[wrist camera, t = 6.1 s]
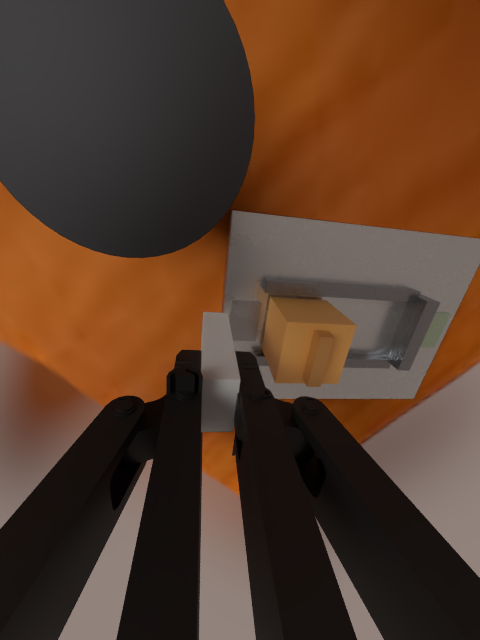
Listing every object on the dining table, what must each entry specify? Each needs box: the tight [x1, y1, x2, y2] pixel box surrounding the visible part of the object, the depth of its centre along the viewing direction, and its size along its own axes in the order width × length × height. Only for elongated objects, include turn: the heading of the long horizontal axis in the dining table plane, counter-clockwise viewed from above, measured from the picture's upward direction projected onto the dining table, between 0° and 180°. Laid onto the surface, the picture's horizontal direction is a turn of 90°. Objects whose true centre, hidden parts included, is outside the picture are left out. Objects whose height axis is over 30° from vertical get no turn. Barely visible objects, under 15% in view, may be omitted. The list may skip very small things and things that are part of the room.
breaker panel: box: [222, 210, 480, 399], centre depth 19 cm, size 18×14×3 cm
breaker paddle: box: [262, 297, 357, 387], centre depth 16 cm, size 4×4×5 cm
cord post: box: [0, 0, 255, 258], centre depth 9 cm, size 3×3×14 cm
